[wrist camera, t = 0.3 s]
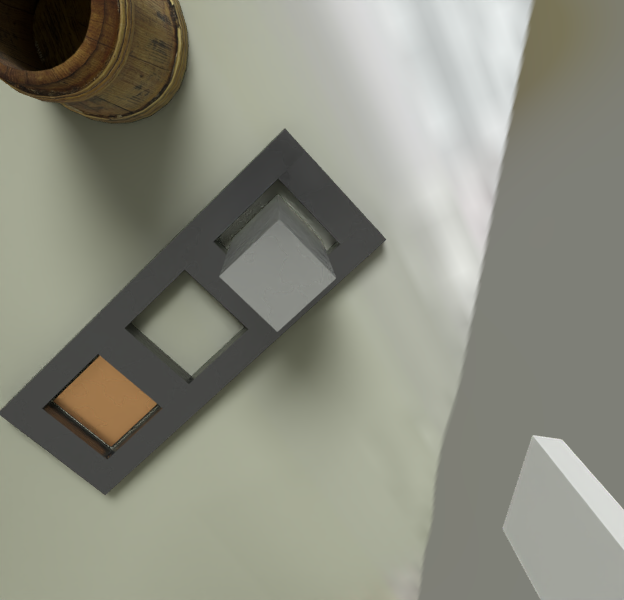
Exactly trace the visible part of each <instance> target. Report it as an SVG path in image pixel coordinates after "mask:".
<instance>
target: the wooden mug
mask: <svg viewBox="0 0 624 600" xmlns="http://www.w3.org/2000/svg"><path fill="white" fill-rule="evenodd" d="M187 54H188V37H187V27H186V23H185V20H184V17H183V13H182V10H181V6H180V3H179V1H178V0H0V79H1V80H2V81H4V82H5V83H6V84H8V85H9V86H10V87H12V88H13V89H15V90H16V91H18V92H19V93H22V94H25V95H27V96H30V97H33V98H36V99H38V100H41V101H46V102H56V103H61V104H62V105H63V106H65V107H66V108H67V109H69V110H71V111H74V112H76V113H79V114H81V115H83V116H85V117H87V118H89V119H92V120H97V121H102V122H107V123H127V122H134V121H137V120H140V119H143V118H146V117H149V116H152V115H153V114H154V113H156V112H157V111H158V110H160V109H161V108H162V107H164V106H165V105H166V104H168V103H169V101H170V100H171V99H172V97H173V96H174V95H175V93H176V92H177V91H178V90H179V88H180V86H181V83H182V80H183V77H184V74H185V71H186V66H187Z"/></svg>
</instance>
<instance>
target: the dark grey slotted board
mask: <svg viewBox="0 0 624 600" xmlns="http://www.w3.org/2000/svg"><path fill="white" fill-rule="evenodd" d="M277 179H279V180H280V181H281V182H282V183H283V184H284V185H285V186H286V187H287V188H288V189H289V190H290V191H291V193H292V194H293V195H294V196H295V197H296V198H297V199H298V200H299V201H300V202H301V203H302V204H303V205H304V206H305V207H306V208H307V209H308V210H309V212H310V213H311V214H312V215H313V216H314V217H315V218H316V219H317V220H318V221H319V222H320V223H321V224H322V225H323V226H324V227H325V228H326V229H327V231H328V232H329V233H330V234H331V235H332V236H333V237H334V238H335V239H336V240H337V242H336V243H335V244H334V245H333V246H332V247H331V248H329V249H328V250H327V251H326V252H327V255H328V258H329V260H330V263H331V266H332V268H333V271H334V274H335V276H336V279H335V280H334V281H333V282H332V283H331V284H329V285H328V286H327V287H326V288H325V289H324V290H323V291H322V292H321V293H320V294H318V295H317V296H316V297H315V298H314V299H313V300H312V301H311V302H310V303H309V304H307V305H306V306H305V307H304V308H303V309H302V310H301V311H300V312H299V313H298V314H297V315H295V316H294V317H293V318H292V319H291V320H290V321H289V322H288V323H287V324H286V325H284V326H283V327H282V328H281V329H280V330H279V331H278V332H277V331H276V330H275V329H274V328H273V327H272V326H271V325H269V324H268V323H267V322H266V321H265V320H264V319H263V318H262V317H261V316H260V315H259V314H258V313H257V312H256V311H255V310H254V309H253V308H252V307H251V306H250V305H249V304H247V303H246V302H245V301H244V300H243V299H242V298H241V297H240V296H239V295H238V294H237V293H236V292H235V291H234V290H233V289H232V288H231V287H230V286H229V285H228V284H227V283H225V282H224V281H223V280H222V279H221V278H220V277H219V276H220V273H221V270H222V267H223V264H224V261H225V258H226V255H227V252H228V250H227V249H226V248H225V247H224V246H223V245H222V244H221V243H220V242H219V241H218V240H217V238H218V237H219V236H220V235H221V234H222V233H223V232H224V231H225V230H226V229H227V228H228V227H229V226H230V225H231V224H232V223H233V222H234V221H235V220H236V219H237V218H238V217H239V216H240V215H241V214H242V213H243V212H244V211H245V210H246V209H247V208H248V207H249V206H250V205H252V204H253V203H254V202H255V201H256V200H257V199H258V198H259V197H260V196H261V195H262V194H263V193H264V192H265V191H266V190H267V189H268V188H269V187H270V186H271V185H272V184H273V183H274V182H275V181H276V180H277ZM385 240H386V239H385V238H384V236H383V235H382V234H381V233H380V232H379V231H378V230H377V229H376V228H375V227H374V225H373V224H372V223H371V222H370V221H369V220H368V219H367V218H366V217H365V216H364V214H363V213H362V212H361V211H360V210H359V209H358V208H357V207H356V206H355V205H354V204H353V202H352V201H351V200H350V199H349V198H348V197H347V196H346V195H345V194H344V193H343V192H342V190H341V189H340V188H339V187H338V186H337V185H336V184H335V183H334V182H333V181H332V179H331V178H330V177H329V176H328V175H327V174H326V173H325V172H324V171H323V170H322V169H321V167H320V166H319V165H318V164H317V163H316V162H315V161H314V160H313V159H312V158H311V157H310V155H309V154H308V153H307V152H306V151H305V150H304V149H303V148H302V147H301V146H300V144H299V143H298V142H297V141H296V140H295V139H294V138H293V137H292V136H291V135H290V134H289V132H288V131H287V130H286V129H284V130H283V131H282V132H281V133H279V134H278V135H277V136H276V137H275V138H274V139H273V140H272V141H271V142H270V143H269V144H268V145H267V146H266V147H265V148H264V149H263V150H262V151H261V152H260V153H259V154H258V155H257V156H256V157H255V158H254V159H253V160H252V161H251V162H250V163H249V164H248V165H247V166H246V167H245V168H244V169H243V170H242V171H241V172H240V173H239V174H238V175H237V176H236V177H235V178H234V179H233V180H232V181H231V182H230V183H229V184H228V185H227V186H226V187H225V188H224V189H223V190H222V191H221V192H220V193H219V194H218V195H217V196H216V197H215V198H214V199H213V200H212V201H211V202H210V203H209V204H208V205H207V206H206V207H205V208H204V209H203V210H202V211H201V212H200V213H199V214H198V215H197V216H196V217H195V218H194V219H193V220H192V221H191V222H190V223H189V224H188V225H187V226H186V227H185V228H184V229H183V230H182V231H181V232H180V233H179V234H178V235H177V236H176V237H175V238H174V239H173V240H172V241H171V242H170V243H169V244H168V245H167V246H166V247H165V248H163V249H162V250H161V251H160V252H159V253H158V254H157V255H156V256H155V257H154V258H153V259H152V260H151V261H150V262H149V263H148V264H147V265H146V266H145V267H144V268H143V269H142V270H141V271H140V272H139V273H138V274H137V275H136V276H135V277H134V278H133V279H132V280H131V281H130V282H129V283H128V284H127V285H126V286H125V287H124V288H123V289H122V290H121V291H120V292H119V293H118V294H117V295H116V296H115V297H114V298H113V299H112V300H111V301H110V302H109V303H108V304H107V305H106V306H105V307H104V308H103V309H102V310H101V311H100V312H99V313H98V314H97V315H96V316H95V317H94V318H93V319H92V320H91V321H90V322H89V323H88V324H87V325H86V326H85V327H84V328H83V329H82V330H81V331H80V332H79V333H78V334H77V335H76V336H75V337H74V338H73V339H72V340H71V341H70V342H69V343H68V344H67V345H66V346H65V347H64V348H63V349H62V350H61V351H60V352H59V353H58V354H57V355H56V356H55V357H54V358H53V359H52V360H51V361H50V362H49V363H47V364H46V365H45V366H44V367H43V368H42V369H41V370H40V371H39V372H38V373H37V374H36V375H35V376H34V377H33V378H32V379H31V380H30V381H29V382H28V383H27V384H26V385H25V386H24V387H23V388H22V389H21V390H20V391H19V392H18V393H17V394H16V395H15V396H14V397H13V398H12V399H11V400H10V401H9V402H8V403H7V404H6V405H5V406H4V407H3V408H2V410H1V411H0V415H1V416H2V417H3V418H5V419H6V420H7V421H9V422H10V423H11V424H13V425H14V426H15V427H17V428H18V429H19V430H20V431H22V432H23V433H24V434H26V435H27V436H28V437H30V438H31V439H32V440H34V441H35V442H36V443H38V444H39V445H40V446H41V447H43V448H44V449H45V450H47V451H48V452H49V453H51V454H52V455H53V456H55V457H56V458H57V459H59V460H60V461H61V462H63V463H64V464H65V465H66V466H68V467H69V468H70V469H72V470H73V471H74V472H76V473H77V474H78V475H80V476H81V477H82V478H84V479H85V480H86V481H88V482H89V483H90V484H91V485H93V486H94V487H95V488H97V489H98V490H99V491H101V492H102V493H103V494H105V495H106V494H107V493H108V492H109V491H110V490H111V489H112V488H113V487H114V486H116V485H117V484H118V483H119V482H120V481H121V480H122V479H123V478H124V477H126V476H127V475H128V474H129V473H130V472H131V471H132V470H133V469H134V468H135V467H137V466H138V465H139V464H140V463H141V462H142V461H143V460H144V459H145V458H146V457H148V456H149V455H150V454H151V453H152V452H153V451H154V450H155V449H156V448H157V447H159V446H160V445H161V444H162V443H163V442H164V441H165V440H166V439H167V438H168V437H170V436H171V435H172V434H173V433H174V432H175V431H176V430H177V429H178V428H179V427H181V426H182V425H183V424H184V423H185V422H186V421H187V420H188V419H189V418H190V417H192V416H193V415H194V414H195V413H196V412H197V411H198V410H199V409H200V408H201V407H203V406H204V405H205V404H206V403H207V402H208V401H209V400H210V399H211V398H212V397H214V396H215V395H216V394H217V393H218V392H219V391H220V390H221V389H222V388H223V387H225V386H226V385H227V384H228V383H229V382H230V381H231V380H232V379H233V378H234V377H236V376H237V375H238V374H239V373H240V372H241V371H242V370H243V369H244V368H245V367H247V366H248V365H249V364H250V363H251V362H252V361H253V360H254V359H255V358H256V357H258V356H259V355H260V354H261V353H262V352H263V351H264V350H265V349H266V348H267V347H269V346H270V345H271V344H272V343H273V342H274V341H275V340H276V339H277V338H278V337H280V336H281V335H282V334H283V333H284V332H285V331H286V330H287V329H288V328H289V327H291V326H292V325H293V324H294V323H295V322H296V321H297V320H298V319H299V318H300V317H302V316H303V315H304V314H305V313H306V312H307V311H308V310H309V309H310V308H311V307H313V306H314V305H315V304H316V303H317V302H318V301H319V300H320V299H321V298H322V297H324V296H325V295H326V294H327V293H328V292H329V291H330V290H331V289H332V288H333V287H335V286H336V285H337V284H338V283H339V282H340V281H341V280H342V279H343V278H344V277H346V276H347V275H348V274H349V273H350V272H351V271H352V270H353V269H354V268H355V267H357V266H358V265H359V264H360V263H361V262H362V261H363V260H364V259H365V258H366V257H368V256H369V255H370V254H371V253H372V252H373V251H374V250H375V249H376V248H377V247H379V246H380V245H381V244H382V243H383V242H384V241H385ZM184 270H186V271H187V272H188V273H189V274H190V275H191V276H192V277H193V278H194V279H195V280H196V281H197V282H198V283H200V284H201V285H202V286H203V287H204V288H205V289H206V290H207V291H208V292H209V293H210V294H211V295H212V296H213V297H214V298H216V299H217V300H218V301H219V302H220V303H221V304H222V305H223V306H224V307H225V308H226V309H227V310H228V311H229V312H230V313H232V314H233V315H234V316H235V317H236V318H237V319H238V320H239V321H240V322H241V323H242V324H243V325H244V326H245V327H244V328H243V329H242V330H241V331H240V332H239V333H238V334H237V335H235V336H234V337H233V338H232V339H231V340H230V341H229V342H228V343H227V344H226V345H225V346H224V347H223V348H221V349H220V350H219V351H218V352H217V353H216V354H215V355H214V356H213V357H212V358H211V359H210V360H208V361H207V362H206V363H205V364H204V365H203V366H202V367H201V368H200V369H199V370H198V371H197V372H196V373H194V374H193V375H192V376H190V375H189V374H188V373H187V372H186V371H185V370H184V369H182V368H181V367H180V366H179V365H178V364H177V363H176V362H174V361H173V360H172V359H171V358H170V357H169V356H168V355H166V354H165V353H164V352H163V351H162V350H161V349H160V348H158V347H157V346H156V345H155V344H154V343H153V342H152V341H150V340H149V339H148V338H147V337H146V336H145V335H144V334H142V333H141V332H140V331H139V330H138V329H137V328H136V327H134V326H133V325H132V324H131V323H130V322H131V321H132V320H133V319H134V318H135V317H136V316H138V315H139V314H140V313H141V312H142V311H143V310H144V309H145V308H146V307H147V306H148V305H149V304H150V303H151V302H152V301H153V300H154V299H155V298H156V297H157V296H158V295H159V294H160V293H161V292H162V291H163V290H164V289H165V288H166V287H167V286H168V285H169V284H170V283H171V282H172V281H173V280H174V279H176V278H177V277H178V276H179V275H180V274H181V273H182V272H183V271H184ZM97 354H99V355H100V356H99V357H98V358H97V359H96V360H95V361H94V362H93V363H92V364H91V365H90V366H88V367H87V368H86V369H85V370H84V371H83V372H82V373H81V374H80V375H79V376H78V377H77V378H76V379H75V380H74V381H73V382H72V383H71V384H70V385H69V386H68V387H67V388H66V389H65V390H64V391H63V392H62V393H61V394H60V395H59V396H58V397H57V398H56V399H55V400H54V401H53V402H55V403H56V404H57V405H59V406H60V407H61V408H62V409H64V410H65V411H66V412H67V413H69V414H70V415H71V416H72V417H74V418H75V419H76V420H77V421H79V422H80V423H81V424H83V425H84V426H85V427H86V428H88V429H89V430H90V431H91V432H93V433H94V434H95V435H96V436H98V437H99V438H100V439H101V440H103V441H104V442H105V443H107V444H108V445H109V446H110V447H111V446H112V445H114V444H115V443H116V442H117V441H118V440H119V439H120V438H121V437H122V436H123V435H124V434H125V433H126V432H128V431H129V430H130V429H131V428H132V427H133V426H134V425H135V424H136V423H137V422H138V421H139V420H140V419H142V418H143V417H144V416H145V415H146V414H147V413H148V412H149V411H150V410H151V409H152V408H153V407H154V406H156V405H157V404H158V405H159V407H158V408H157V409H156V410H154V411H153V412H152V413H151V414H150V415H149V416H148V417H147V418H146V419H145V420H144V421H143V422H142V423H140V424H139V425H138V426H137V427H136V428H135V429H134V430H133V431H132V432H131V433H130V434H129V435H127V436H126V437H125V438H124V439H123V440H122V441H121V442H120V443H119V444H118V445H117V446H116V447H115V448H113V449H110V448H109V447H108V446H107V445H105V444H104V443H103V442H102V441H100V440H99V439H98V438H96V437H95V436H94V435H93V434H91V433H90V432H89V431H88V430H86V429H85V428H84V427H83V426H81V425H80V424H79V423H77V422H76V421H75V420H74V419H72V418H71V417H70V416H69V415H67V414H66V413H65V412H64V411H62V410H61V409H60V408H59V407H57V406H56V405H55V404H53V403H52V402H51V401H50V400H51V399H52V398H53V397H54V396H55V395H56V394H57V393H58V392H59V391H60V390H62V389H63V388H64V387H65V386H66V385H67V384H68V383H69V382H70V381H71V380H72V379H73V378H74V377H75V376H76V375H77V374H78V373H79V372H80V371H81V370H82V369H83V368H84V367H85V366H86V365H87V364H88V363H89V362H90V361H91V360H92V359H93V358H94V357H95V356H96V355H97Z"/></svg>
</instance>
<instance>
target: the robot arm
mask: <svg viewBox="0 0 624 600" xmlns="http://www.w3.org/2000/svg"><path fill="white" fill-rule="evenodd" d="M502 529H503V531H504V533H505V535H506V537H507V539H508V540H509V542H510V544H511V546H512V548H513V549H514V552H515V554H516V555H517V557H518V559H519V561H520V563H521V565H522V567H523V568H524V570H525V572H526V574H527V576H528V578H529V579H530V581H531V583H532V585H533V587H534V589H535V590H536V593H537V594H538V596H539V598H540V600H624V509H623V508H622V507H621V506H620V505H619V504H618V503H617V502H616V501H615V499H614V498H613V497H612V496H611V495H610V494H609V492H608V491H607V490H606V489H605V488H604V487H603V486H602V484H601V483H600V482H599V481H598V480H597V479H596V478H595V476H594V475H593V474H592V473H591V472H590V471H589V470H588V469H587V467H586V466H585V465H584V464H583V463H582V462H581V461H580V459H579V458H578V457H577V456H576V455H575V454H574V453H573V452H572V450H571V449H570V448H569V447H568V446H567V445H566V444H565V442H564V441H563V440H562V439H555V438H548V437H541V436H534V435H533V436H532V438H531V442H530V444H529V448H528V451H527V454H526V457H525V460H524V463H523V466H522V469H521V472H520V476H519V479H518V482H517V485H516V488H515V491H514V494H513V498H512V500H511V503H510V507H509V510H508V513H507V516H506V519H505V522H504V525H503V528H502Z"/></svg>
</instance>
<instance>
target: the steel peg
mask: <svg viewBox="0 0 624 600" xmlns="http://www.w3.org/2000/svg"><path fill="white" fill-rule="evenodd" d="M219 277H220V278H221V279H222V280H223V281H224V282H225V283H227V284H228V285H229V286H230V287H231V288H232V289H233V290H234V291H235V292H236V293H237V294H238V295H239V296H240V297H241V298H242V299H243V300H244V301H245V302H246V303H247V304H249V305H250V306H251V307H252V308H253V309H254V310H255V311H256V312H257V313H258V314H259V315H260V316H261V317H262V318H263V319H264V320H265V321H266V322H267V323H268V324H269V325H271V326H272V327H273V328H274V329H275V330H276V331H277V332H278V331H279V330H280V329H281V328H282V327H283V326H284V325H286V324H287V323H288V322H289V321H290V320H291V319H292V318H293V317H294V316H295V315H297V314H298V313H299V312H300V311H301V310H302V309H303V308H304V307H305V306H306V305H307V304H309V303H310V302H311V301H312V300H313V299H314V298H315V297H316V296H317V295H318V294H320V293H321V292H322V291H323V290H324V289H325V288H326V287H327V286H328V285H329V284H331V283H332V282H333V281H334V280H335V279H336V276H335V274H334V271H333V268H332V266H331V263H330V260H329V258H328V255H327V252H326V250H325V247H324V244H323V242H322V239H321V238H320V237H319V236H318V235H317V234H316V233H315V232H314V231H313V230H312V229H311V228H310V227H309V226H308V225H307V224H306V223H305V222H304V221H303V220H302V219H301V217H300V216H299V215H298V214H297V213H296V212H295V211H294V210H293V209H292V208H291V207H290V206H289V205H288V204H287V203H286V202H285V201H284V200H283V199H282V198H281V197H280V196H279V194H277V195H276V196H275V197H274V198H273V199H272V200H271V201H270V202H269V203H268V204H267V205H266V206H265V207H264V208H263V209H262V210H261V211H260V212H259V213H257V214H256V215H255V216H254V217H253V218H252V219H251V220H250V221H249V222H248V223H247V224H246V225H245V226H244V227H243V228H242V229H241V230H240V231H239V232H238V233H237V234H236V235H235V236H234V237H233V238H232V240H231V243H230V246H229V249H228V252H227V255H226V258H225V261H224V264H223V267H222V270H221V273H220V276H219Z"/></svg>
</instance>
